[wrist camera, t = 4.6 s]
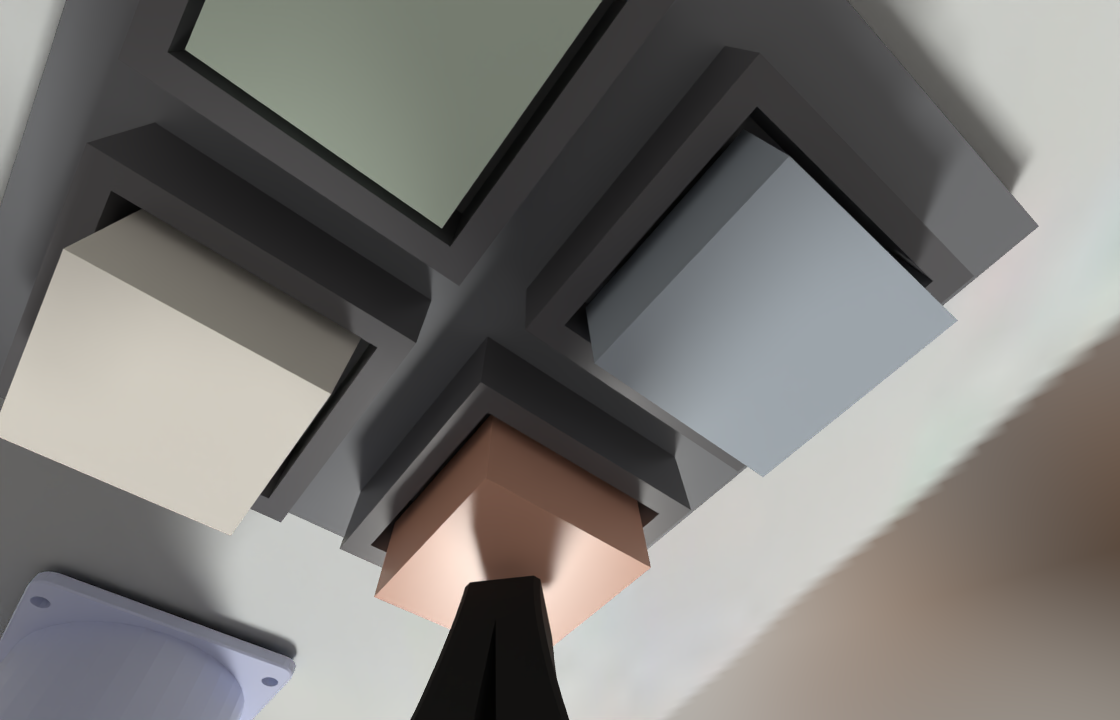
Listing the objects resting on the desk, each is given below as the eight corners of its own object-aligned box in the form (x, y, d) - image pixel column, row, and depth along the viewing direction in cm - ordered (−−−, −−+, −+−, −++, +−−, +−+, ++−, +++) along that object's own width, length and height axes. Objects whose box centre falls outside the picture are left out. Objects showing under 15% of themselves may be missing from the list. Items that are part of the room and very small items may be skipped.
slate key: (731, 411, 12) (762, 476, 11) (585, 307, 11) (594, 363, 9) (890, 270, 11) (957, 319, 9) (743, 129, 9) (790, 156, 8)
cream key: (272, 464, 13) (230, 535, 11) (74, 369, 11) (-8, 434, 10) (363, 334, 11) (331, 394, 9) (146, 205, 10) (63, 249, 8)
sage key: (456, 193, 11) (442, 228, 9) (248, 41, 10) (184, 49, 8) (595, -6, 9) (609, -10, 8) (370, -222, 8) (325, -285, 6)
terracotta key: (531, 589, 15) (531, 663, 13) (394, 523, 14) (374, 597, 12) (636, 496, 14) (651, 567, 12) (493, 411, 12) (486, 478, 10)
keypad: (548, 602, 19) (549, 689, 16) (-11, 336, 13) (-132, 408, 11) (1004, 211, 13) (1115, 259, 10) (310, -586, 7) (194, -892, 5)
